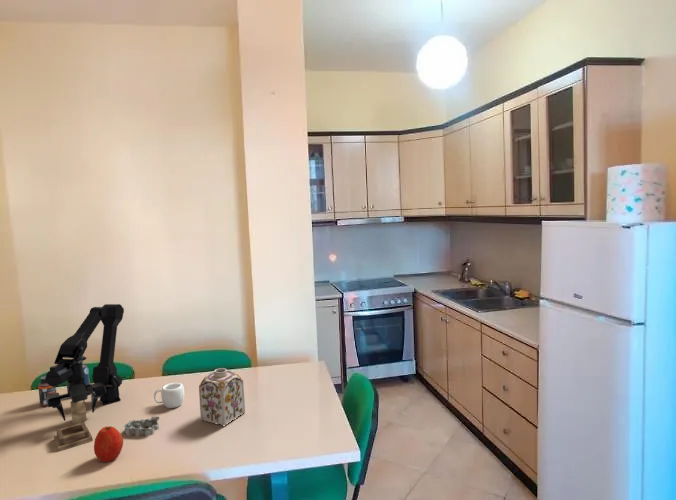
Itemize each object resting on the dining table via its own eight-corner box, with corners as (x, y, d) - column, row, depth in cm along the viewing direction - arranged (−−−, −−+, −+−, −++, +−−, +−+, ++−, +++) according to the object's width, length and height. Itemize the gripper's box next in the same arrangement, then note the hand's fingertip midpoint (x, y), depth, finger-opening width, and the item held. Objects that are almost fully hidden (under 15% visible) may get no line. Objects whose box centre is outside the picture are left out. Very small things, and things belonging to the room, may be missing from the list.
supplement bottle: (49, 407, 184) (46, 380, 182) (36, 406, 185) (33, 379, 184) (61, 401, 190) (58, 374, 188) (48, 400, 191) (45, 373, 190)
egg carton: (161, 427, 165) (161, 416, 165) (150, 437, 158) (149, 426, 157) (134, 425, 167) (133, 414, 166) (121, 436, 159) (120, 425, 159)
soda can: (94, 391, 199) (91, 364, 197) (81, 398, 192) (78, 370, 191) (81, 389, 200) (78, 363, 199) (68, 396, 194) (65, 369, 192)
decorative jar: (200, 421, 168) (196, 373, 166) (222, 407, 178) (219, 362, 176) (225, 427, 163) (222, 378, 161) (246, 413, 173) (243, 367, 171)
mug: (188, 400, 186) (187, 381, 185) (180, 410, 178) (178, 390, 177) (159, 400, 187) (157, 381, 186) (149, 410, 178) (148, 390, 177)
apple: (128, 450, 150) (125, 419, 148) (117, 465, 141) (114, 432, 140) (102, 452, 149) (99, 420, 148) (89, 466, 141) (86, 433, 140)
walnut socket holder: (87, 429, 165) (86, 420, 164) (92, 440, 157) (91, 431, 156) (54, 439, 159) (53, 429, 158) (58, 451, 151) (57, 441, 150)
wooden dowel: (85, 417, 174) (83, 397, 173) (87, 421, 171) (85, 401, 170) (71, 421, 171) (69, 400, 171) (73, 425, 168) (71, 404, 167)
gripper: (47, 389, 157) (52, 433, 159) (107, 375, 168) (111, 415, 170) (43, 379, 166) (48, 421, 168) (101, 366, 177) (104, 405, 179)
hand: (79, 416), depth 171 cm, fingers open, 9 cm apart
